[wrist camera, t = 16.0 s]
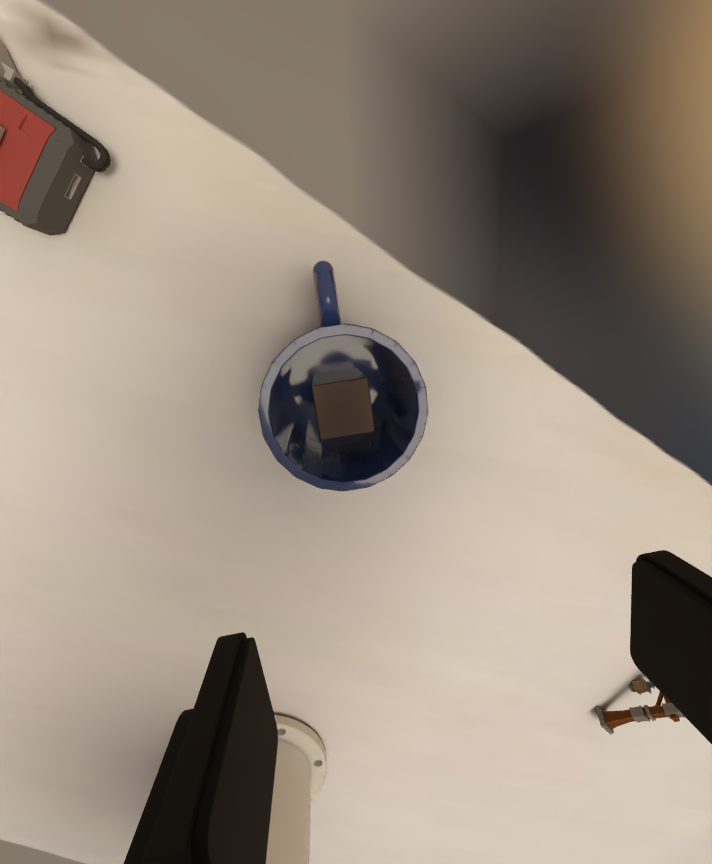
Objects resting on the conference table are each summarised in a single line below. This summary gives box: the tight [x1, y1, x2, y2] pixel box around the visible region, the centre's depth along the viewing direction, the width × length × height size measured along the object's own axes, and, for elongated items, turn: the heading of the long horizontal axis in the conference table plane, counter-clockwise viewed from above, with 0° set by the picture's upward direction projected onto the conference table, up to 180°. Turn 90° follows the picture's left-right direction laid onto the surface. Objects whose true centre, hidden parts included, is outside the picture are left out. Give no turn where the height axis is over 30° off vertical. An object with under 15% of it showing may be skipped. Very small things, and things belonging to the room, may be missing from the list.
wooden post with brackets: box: [596, 678, 685, 734], centre depth 40 cm, size 2×8×4 cm, turn 137°
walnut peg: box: [312, 368, 375, 440], centre depth 27 cm, size 3×3×7 cm
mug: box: [258, 261, 428, 491], centre depth 26 cm, size 13×10×8 cm
